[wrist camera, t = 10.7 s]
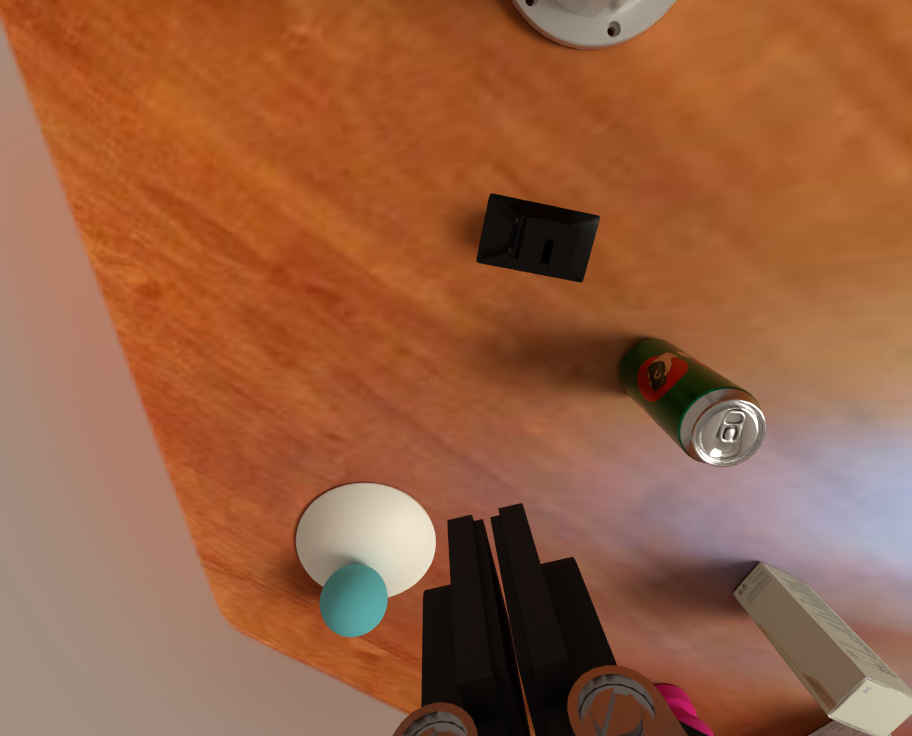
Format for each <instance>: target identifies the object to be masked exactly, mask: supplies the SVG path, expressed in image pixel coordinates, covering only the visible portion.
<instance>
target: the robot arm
mask: <svg viewBox="0 0 912 736" xmlns="http://www.w3.org/2000/svg"><path fill="white" fill-rule="evenodd" d="M532 1H533V5H532V6H528V5H527V4H526V0H512V2H513V4H514V6H515V7H516V9H517V10H518V11H519V13H520V14H521V15H522V16H523V17H524V19H525V20H526V21H527V22H528V23H529V25H531V26H532V27H533V28H534V29H536V30H537V31H538V32H539V33H541V34H542V35H543V36H544V37H546V38H548V39H550V40H552V41H554V42H556V43H559V44H561V45H564V46H568V47H572V48H576V49H593V50H598V49H603V48H608V47H613V46H616V45H619V44H621V43H623V42H626V41H628V40H631V39H633V38H634V37H636V36H637V35H639V34H640V33H642V32H643V31H645V30H647V29H648V28H649V27H650V26H652V25H653V24H654V23H655V22H656V21H658V20H659V19H660V18H661V17H662V16H663V15H664V14H665V13H666V12H667V11H668V9H669V8H670V7H671V6H672V5H673V4H674V2H675V1H676V0H532ZM608 29H611V30H612V32H613V35H612V37H611V36H609V35H608V33H607V30H608ZM498 509H499V514H500V515H498V516H494V517H490V519H491V524H492V529H493V535H494V540H495V546H496V551H497V556H498V562H499V567H500V572H501V578H502V583H503V589H504V594H505V599H506V605H507V610H508V615H509V619H508V615H507V611H506V607H505V603H504V599H503V595H502V591H501V587H500V583H499V580H498V576H497V572H496V568H495V564H494V560H493V556H492V552H491V549H490V545H489V541H488V537H487V533H486V529H485V525H484V522H483V519H481V520H477V521H474V520H473V516H472V515H468V516H463V517H459V518H455V519H450V520H448V542H449V561H450V579H451V584H450V585H446V586H442V587H437V588H433V589H428V590H425V591H424V594H423V638H422V702H421V708H419V709H417V710H416V711H414V712H412V713H411V714H410V715H409V716H408V717H407V718H406V719H404V721H402V722H401V724H400V726H399V727H398V728H397V730H396V731H395V733H394V734H393V736H530V730H529V725H528V719H527V714H526V709H525V703H524V698H523V692H522V687H521V682H520V676H521V680H522V684H523V688H524V692H525V696H526V700H527V704H528V707H529V711H530V715H531V719H532V723H533V727H534V730H535V734H536V736H708V735H706V734H705V733H703V732H701V731H699V730H697V729H695V728H693V727H691V726H689V725H687V724H685V723H683V722H681V721H680V720H678V719H677V718H676V717H675V715H674V714H673V712H672V710H671V709H670V707H669V706H668V704H667V703H666V701H665V700H664V698H663V697H662V695H661V693H660V692H659V690H658V689H657V688H656V687H655V686H654V685H653V684H652V682H651V681H650V680H649V679H648V678H646V677H645V676H643V675H642V674H640V673H639V672H637V671H635V670H632V669H629V668H626V667H623V666H617V664H616V661H615V659H614V656H613V654H612V651H611V649H610V646H609V644H608V641H607V639H606V636H605V634H604V631H603V629H602V626H601V624H600V621H599V618H598V616H597V613H596V611H595V608H594V606H593V603H592V601H591V598H590V596H589V593H588V591H587V588H586V586H585V583H584V581H583V578H582V575H581V573H580V570H579V568H578V565H577V563H576V561H575V559H574V557H570V558H565V559H561V560H556V561H552V562H548V563H543V564H540V561H539V557H538V554H537V551H536V547H535V544H534V540H533V537H532V534H531V530H530V527H529V524H528V520H527V517H526V514H525V510H524V507H523V504H522V503H520V504H516V505H511V506H507V507H503V508H498ZM509 621H510V623H509ZM510 626H511V628H510ZM511 631H512V633H511ZM512 637H513V639H512ZM513 642H514V644H513ZM514 648H515V649H514ZM515 653H516V655H515ZM516 658H517V660H516ZM517 663H518V666H517ZM518 667H519V671H518ZM519 672H520V676H519Z"/></svg>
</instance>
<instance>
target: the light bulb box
mask: <svg viewBox="0 0 912 736" xmlns="http://www.w3.org/2000/svg"><path fill="white" fill-rule="evenodd" d="M808 736H873V735H870V734H868V733H865V732H862V731H860V730H857V729H855V728H852V727H850V726H847V725H845V724H843V723H840V722H838V721H836V720H833V721H831V722H830V723H828V724H826V725H825V726H823V727H821V728H820V729H818V730H816V731H815V732H813V733H811V734H810V735H808ZM888 736H891V735H890V734H889V735H888Z"/></svg>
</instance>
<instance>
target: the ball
mask: <svg viewBox="0 0 912 736" xmlns="http://www.w3.org/2000/svg"><path fill="white" fill-rule="evenodd" d="M387 602H388V594H387V588H386V585H385V582H384V581H383V579H382V577H381V576H380V575H379V574H378V573H377V572H376V571H375V570H374V569H372V568H371V567H368V566H366V565H362V564H351V565H347V566H344V567H342V568H340V569H338V570H337V571H335V572H334V573H333V574H332V575H331V576H330V577H329V578H328V580H327V581H326V583H325V585H324V587H323V589H322V592H321V596H320V611H321V615H322V617H323V620H324V622H325V623H326V625H327V626H328V627H329V628H330V629H331V630H332V631H334V632H335V633H337V634H339V635H341V636H345V637H357V636H361V635H364V634H366V633H368V632H369V631H371V630H372V629H374V628H375V627H376V626H377V625H378V623H379V622H380V621H381V619H382V618H383V616H384V613H385V611H386V608H387Z"/></svg>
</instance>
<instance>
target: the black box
mask: <svg viewBox="0 0 912 736" xmlns="http://www.w3.org/2000/svg"><path fill="white" fill-rule="evenodd" d="M599 220H600V217H599V216H598V215H593V214H588V213H583V212H579V211H574V210H569V209H564V208H560V207H555V206H550V205H545V204H540V203H536V202H531V201H526V200H521V199H516V198H512V197H507V196H502V195H497V194H490V196H489V200H488V205H487V210H486V215H485V220H484V225H483V230H482V235H481V240H480V244H479V249H478V254H477V259H476V261H477V262H478V263H482V264H487V265H492V266H498V267H503V268H508V269H513V270H518V271H524V272H529V273H534V274H539V275H544V276H550V277H555V278H560V279H565V280H570V281H576V282H582V281H583V279H584V275H585V272H586V268H587V264H588V260H589V257H590V253H591V249H592V246H593V242H594V238H595V235H596V231H597V227H598V224H599Z"/></svg>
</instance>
